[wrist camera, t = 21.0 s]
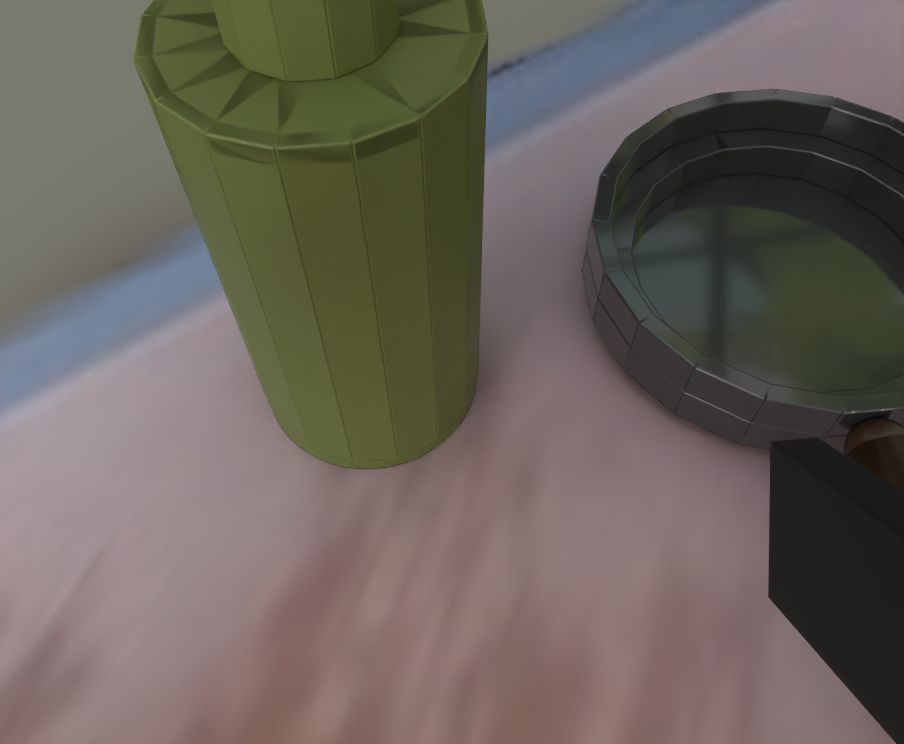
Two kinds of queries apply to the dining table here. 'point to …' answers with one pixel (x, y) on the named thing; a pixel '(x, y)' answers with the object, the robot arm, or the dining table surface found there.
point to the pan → (756, 264)
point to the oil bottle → (336, 202)
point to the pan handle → (878, 448)
